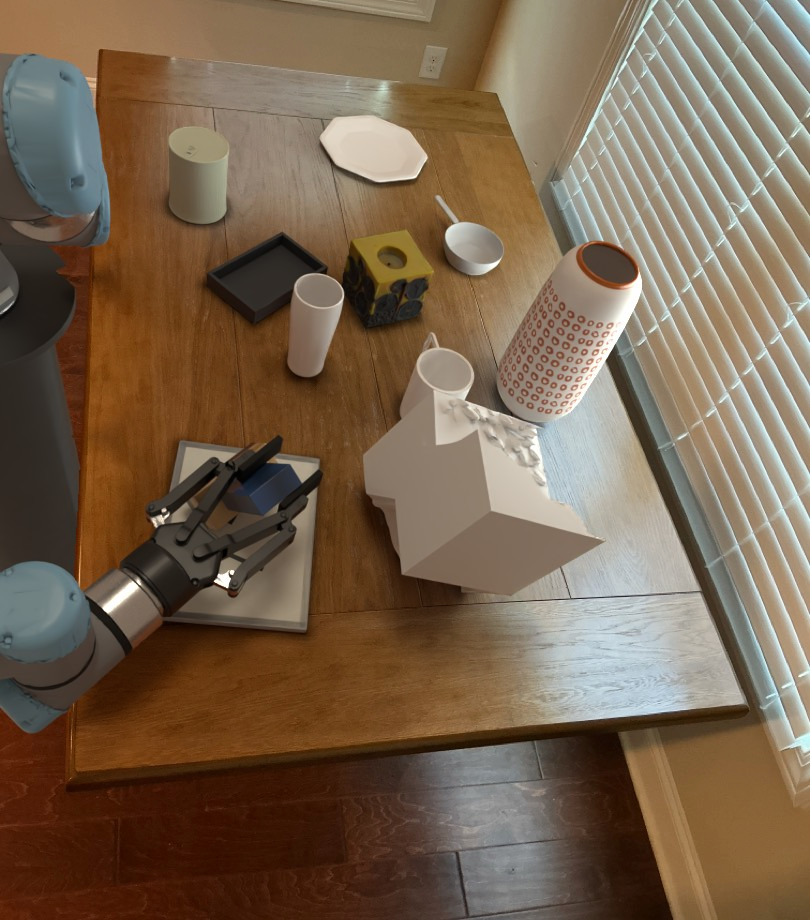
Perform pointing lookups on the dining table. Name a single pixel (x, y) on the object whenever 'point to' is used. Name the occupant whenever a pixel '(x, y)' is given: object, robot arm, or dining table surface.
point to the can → (198, 174)
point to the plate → (373, 148)
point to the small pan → (470, 245)
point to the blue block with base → (251, 491)
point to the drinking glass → (313, 322)
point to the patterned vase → (568, 331)
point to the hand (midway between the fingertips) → (298, 459)
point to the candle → (386, 278)
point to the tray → (263, 276)
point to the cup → (437, 375)
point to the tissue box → (471, 498)
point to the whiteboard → (275, 585)
